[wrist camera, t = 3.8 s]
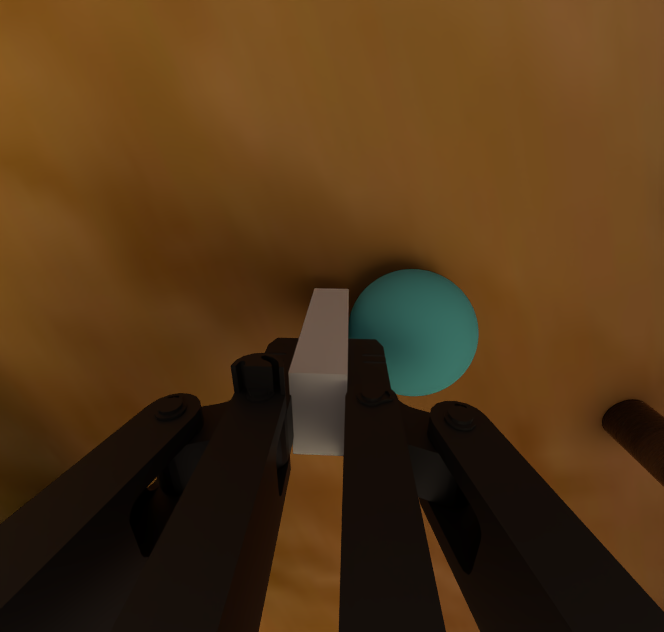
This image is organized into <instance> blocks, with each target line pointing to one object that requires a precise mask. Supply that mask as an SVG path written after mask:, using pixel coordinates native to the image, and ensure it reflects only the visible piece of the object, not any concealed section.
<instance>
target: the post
mask: <svg viewBox="0 0 664 632" xmlns="http://www.w3.org/2000/svg"><path fill="white" fill-rule="evenodd" d="M602 424H603V428H604V429H605V430H606V431H607V432H608V433H609V434H610V435H611V436H612V437H613V438H614V439H615V440H616V441H617V442H618V443H619V444H620V445H621V446H622V447H623V448H624V449H625V450H626V451H627V452H628V453H629V454H630V455H631V456H632V457H634V458H635V459H636V460H637V461H638V462H639V463H640V464H641V465H642V466H643V467H644V468H645V469H646V470H647V471H648V472H649V473H650V474H651V475H652V476H653V477H654V478H655V479H656V480H657V481H658V482H659V483H660V484H662V485H663V486H664V417H663V416H662V415H661V414H659V413H658V412H657V411H655V410H654V409H653V408H651V407H650V406H649V405H647V404H646V403H644V402H642V401H639V400H627V401H623V402H621V403H618V404H616V405H615V406H613V407H612V408H610V409H609V410H608V411H607V413H606V414H605V416H604V418H603V421H602Z"/></svg>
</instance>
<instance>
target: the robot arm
mask: <svg viewBox="0 0 664 632" xmlns="http://www.w3.org/2000/svg"><path fill="white" fill-rule="evenodd" d="M348 309H349V289H324V288H314V292H313V295H312V298H311V301H310V305H309V308H308V311H307V314H306V317H305V321H304V324H303V327H302V330H301V334H300V337H299V338H277V339H275V340H274V341H273V342H271V343H270V344H269V345H268V347H267V349H266V351H265V353H254V354H250V355H246V356H243V357H241V358H239V359H237V360H236V361H235V362H234V363H233V364H232V365H231V371H232V378H233V385H234V392H235V393H234V395H233V397H232V399H231V400H230V401H228V402H224V403H220V404H215V405H209V406H203V407H201V403H200V401H199V399H198V398H197V397H196V396H194V395H191V394H185V393H178V394H172V395H168V396H165V397H163V398H160V399H158V400H156V401H154V402H153V403H151V404H150V405H148V406H147V407H146V408H144V409H143V410H142V411H141V412H139V413H138V414H137V415H136V416H134V417H133V418H132V419H131V420H129V421H128V422H127V423H126V424H125V425H123V426H122V427H121V428H120V429H118V430H117V431H116V432H115V433H113V434H112V435H111V436H110V437H108V438H107V439H106V440H105V441H103V442H102V443H101V444H100V445H98V446H97V447H96V448H95V449H93V450H92V451H91V452H90V453H88V454H87V455H86V456H85V457H83V458H82V459H81V460H80V461H78V462H77V463H76V464H75V465H73V466H72V467H71V468H70V469H68V470H67V471H66V472H65V473H63V474H62V475H61V476H60V477H58V478H57V479H56V480H55V481H53V482H52V483H51V484H50V485H49V486H47V487H46V488H45V489H44V490H42V491H41V492H40V493H39V494H37V495H36V496H35V497H34V498H32V499H31V500H30V501H29V502H27V503H26V504H25V505H24V506H22V507H21V508H20V509H19V510H17V511H16V512H15V513H14V514H12V515H11V516H10V517H9V518H7V519H6V520H5V521H4V522H2V523H1V524H0V632H258V631H259V626H260V621H261V616H262V611H263V606H264V601H265V596H266V591H267V586H268V581H269V576H270V571H271V566H272V561H273V556H274V551H275V546H276V541H277V536H278V531H279V526H280V521H281V516H282V511H283V506H284V501H285V495H286V490H287V485H288V480H289V475H290V470H291V467H290V452H291V447H292V443H293V454H312V455H336V456H344V462H343V498H342V535H341V572H340V608H339V632H446V630H445V625H444V620H443V615H442V611H441V606H440V601H439V596H438V591H437V586H436V581H435V576H434V572H433V567H432V562H431V557H430V552H429V547H428V542H427V538H426V533H425V528H424V523H423V518H422V513H421V508H420V504H421V506H422V508H423V511H424V513H425V515H426V517H427V519H428V521H429V523H430V525H431V528H432V530H433V532H434V534H435V536H436V538H437V540H438V543H439V545H440V547H441V549H442V551H443V553H444V555H445V557H446V560H447V562H448V564H449V566H450V568H451V570H452V572H453V574H454V577H455V579H456V581H457V583H458V585H459V587H460V589H461V592H462V594H463V596H464V598H465V600H466V602H467V604H468V606H469V609H470V611H471V613H472V615H473V617H474V619H475V621H476V623H477V626H478V628H479V630H480V632H664V612H663V611H662V609H661V608H660V607H659V606H658V605H657V604H656V603H655V602H654V601H653V600H652V598H651V597H650V596H649V595H648V594H647V593H646V592H645V591H644V590H643V589H642V587H641V586H640V585H639V584H638V583H637V582H636V581H635V580H634V579H633V577H632V576H631V575H630V574H629V573H628V572H627V571H626V570H625V569H624V568H623V566H622V565H621V564H620V563H619V562H618V561H617V560H616V559H615V558H614V557H613V555H612V554H611V553H610V552H609V551H608V550H607V549H606V548H605V547H604V546H603V544H602V543H601V542H600V541H599V540H598V539H597V538H596V537H595V536H594V535H593V533H592V532H591V531H590V530H589V529H588V528H587V527H586V526H585V525H584V523H583V522H582V521H581V520H580V519H579V518H578V517H577V516H576V515H575V514H574V512H573V511H572V510H571V509H570V508H569V507H568V506H567V505H566V504H565V503H564V501H563V500H562V499H561V498H560V497H559V496H558V495H557V494H556V493H555V492H554V490H553V489H552V488H551V487H550V486H549V485H548V484H547V483H546V482H545V481H544V479H543V478H542V477H541V476H540V475H539V474H538V473H537V472H536V471H535V469H534V468H533V467H532V466H531V465H530V464H529V463H528V462H527V461H526V460H525V458H524V457H523V456H522V455H521V454H520V453H519V452H518V451H517V450H516V449H515V447H514V446H513V445H512V444H511V443H510V442H509V441H508V440H507V439H506V438H505V436H504V435H503V434H502V433H501V432H500V431H499V430H498V429H497V428H496V427H495V425H494V424H493V423H492V422H491V421H490V420H489V419H488V418H487V417H486V416H485V415H484V414H483V413H482V412H481V411H479V410H478V409H477V408H475V407H473V406H470V405H468V404H466V403H461V402H457V401H444V402H440V403H437V404H436V405H435V406H433V407H432V408H431V412H430V413H429V412H426V411H422V410H418V409H415V408H412V407H409V406H407V405H405V404H403V403H402V402H400V401H399V400H398V397H397V396H396V394H395V392H394V391H393V390H392V389H391V385H390V380H389V374H388V369H387V364H386V358H385V353H384V348H383V346H382V345H381V344H380V343H379V342H378V341H377V340H376V339H348ZM156 477H157V480H156V481H155V482H154V483H153V484H152V485H150V486H149V487H148V488H146V487H147V486H148V485H149V484H150V483H151V482H152V481H153V480H154V479H155V478H156ZM418 497H419V499H418ZM419 501H420V503H419Z"/></svg>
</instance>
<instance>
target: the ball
mask: <svg viewBox="0 0 664 632" xmlns="http://www.w3.org/2000/svg"><path fill="white" fill-rule="evenodd" d="M348 339H376V340H377V341H378V342H379V343H380V344H381V345H382V346H383V348H384V353H385V358H386V364H387V369H388V374H389V380H390V385H391V389H392V390H393V391H394V392H395V394H399V395H405V396H423V395H428V394H432V393H436V392H438V391H440V390H443V389H445V388H447V387H448V386H450V385H451V384H453V383H454V382H455V381H456V380H458V379H459V378H460V377H461V376H462V375H463V374H464V372H465V371H466V370H467V368H468V367H469V365H470V364H471V362H472V360H473V358H474V355H475V352H476V348H477V343H478V323H477V318H476V315H475V312H474V309H473V307H472V305H471V303H470V301H469V299H468V298H467V297H466V295H465V294H464V293H463V292H462V290H461V289H459V288H458V287H457V286H456V285H455V284H454V283H453V282H451V281H450V280H448V279H446V278H445V277H443V276H441V275H439V274H436V273H433V272H430V271H426V270H420V269H405V270H399V271H394V272H391V273H389V274H386V275H384V276H382V277H380V278H378V279H377V280H375V281H374V282H372V283H371V284H370V285H369V286H368V287H366V288H365V290H364V291H363V292H362V293H361V294H360V296H359V297H358V299H357V300H356V302H355V304H354V306H353V308H352V311H351V314H350V317H349V322H348Z"/></svg>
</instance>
